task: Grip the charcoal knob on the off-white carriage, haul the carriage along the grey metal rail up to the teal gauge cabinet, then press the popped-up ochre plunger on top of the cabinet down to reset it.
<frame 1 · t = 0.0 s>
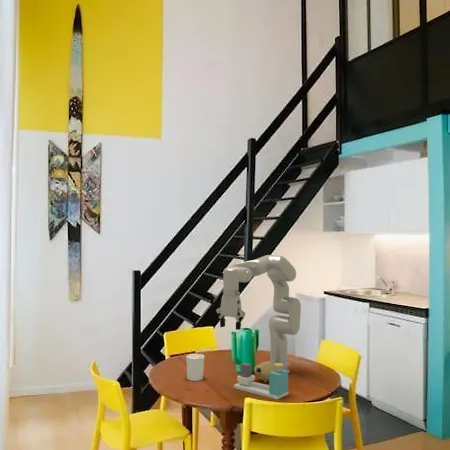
hand: (230, 328, 246), 31 cm above the table, tool pointing down, fingers open, 9 cm apart
gauge plunger: (278, 371, 242), point 12 cm above the table, slide at 0.0 cm
toy pig: (265, 381, 264), on the table
rail board: (260, 391, 248), on the table
candle holder: (195, 379, 267), on the table
carriage: (245, 373, 254), point 7 cm above the table, slide at 0.0 cm
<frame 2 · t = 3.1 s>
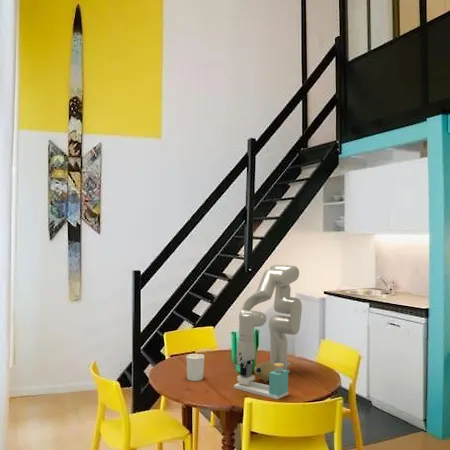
hand: (245, 373, 254), 7 cm above the table, tool pointing down, fingers closed on carriage, 4 cm apart
carriage: (245, 373, 254), point 7 cm above the table, slide at 0.0 cm, touching gripper
everything else where it was.
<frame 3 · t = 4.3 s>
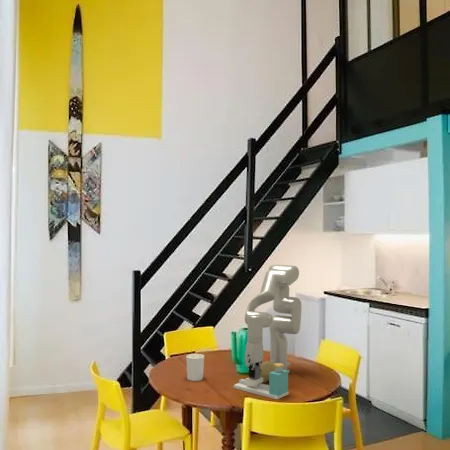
hand: (254, 375, 250), 7 cm above the table, tool pointing down, fingers closed on carriage, 4 cm apart
carriage: (254, 375, 250), point 7 cm above the table, slide at 5.2 cm, touching gripper
everything else where it was.
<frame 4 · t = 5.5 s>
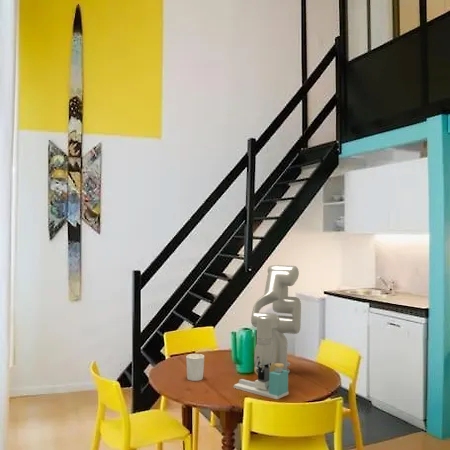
hand: (263, 378, 247), 7 cm above the table, tool pointing down, fingers closed on carriage, 4 cm apart
carriage: (263, 378, 247), point 7 cm above the table, slide at 10.8 cm, touching gripper
everything else where it was.
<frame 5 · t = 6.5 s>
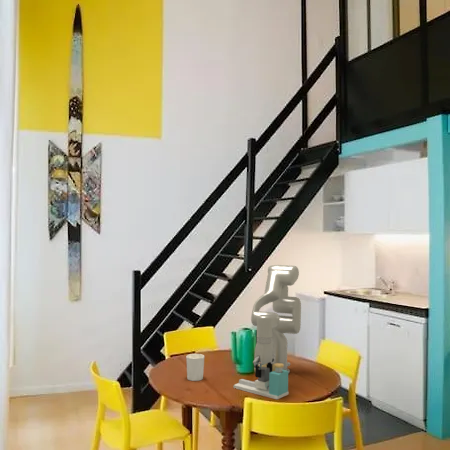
hand: (263, 374, 247), 8 cm above the table, tool pointing down, fingers open, 9 cm apart
carriage: (263, 378, 247), point 7 cm above the table, slide at 10.8 cm
everything else where it was.
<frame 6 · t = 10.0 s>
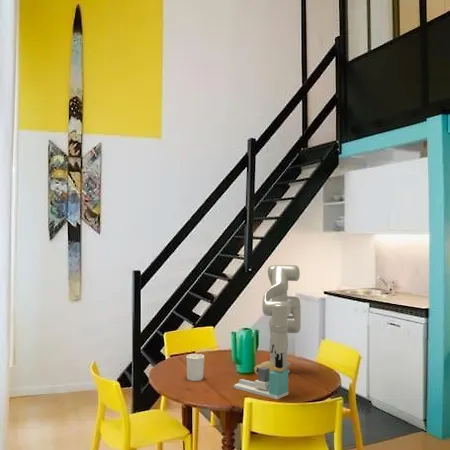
hand: (278, 367, 241), 14 cm above the table, tool pointing down, fingers closed
gauge plunger: (278, 374, 242), point 10 cm above the table, slide at 1.6 cm, touching gripper
everything else where it was.
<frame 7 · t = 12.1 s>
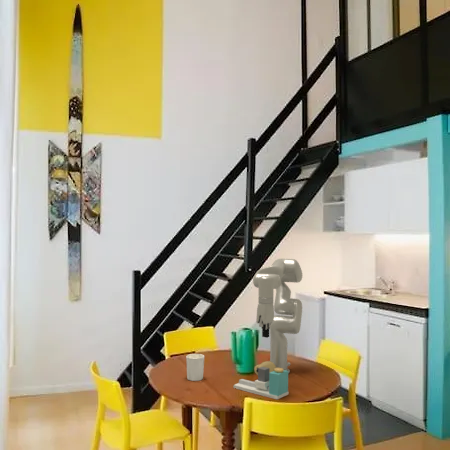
hand: (265, 336, 252), 26 cm above the table, tool pointing down, fingers closed
gauge plunger: (278, 375, 242), point 10 cm above the table, slide at 2.2 cm
everything else where it was.
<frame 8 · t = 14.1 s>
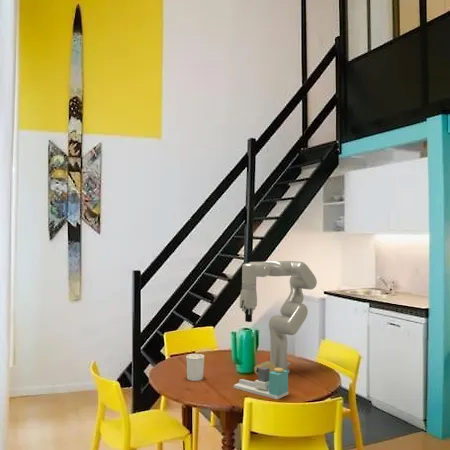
hand: (248, 321, 265), 31 cm above the table, tool pointing down, fingers closed
nothing on the table moved.
at the end: carriage slide at 10.8 cm; gauge plunger slide at 2.2 cm; the gripper is holding nothing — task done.
